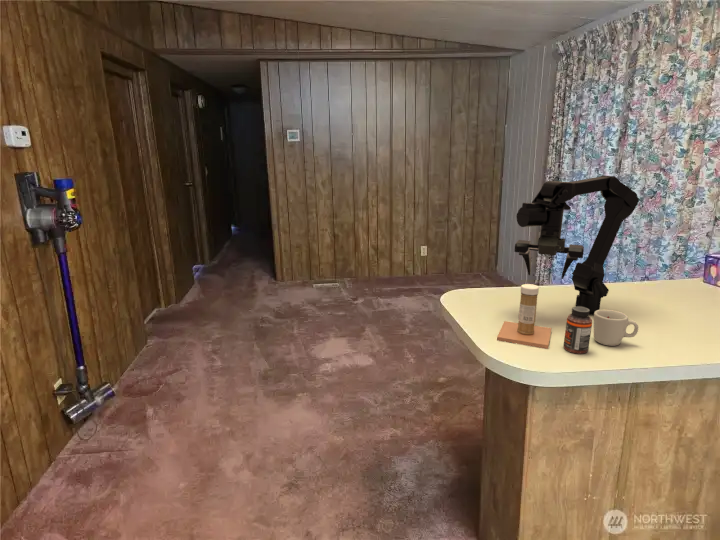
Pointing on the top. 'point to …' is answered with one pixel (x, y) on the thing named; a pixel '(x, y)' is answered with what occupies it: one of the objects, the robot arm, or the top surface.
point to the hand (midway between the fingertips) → (545, 276)
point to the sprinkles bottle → (527, 309)
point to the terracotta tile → (536, 339)
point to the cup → (612, 327)
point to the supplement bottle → (578, 330)
